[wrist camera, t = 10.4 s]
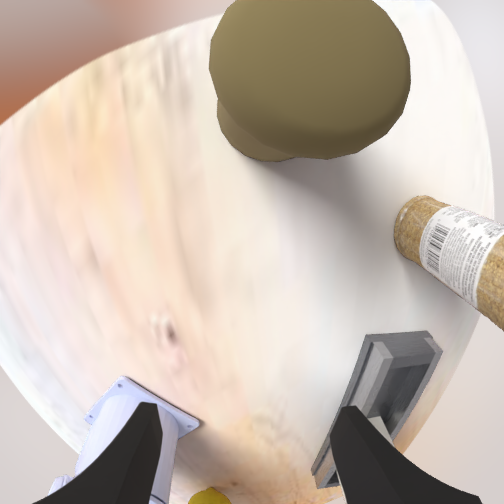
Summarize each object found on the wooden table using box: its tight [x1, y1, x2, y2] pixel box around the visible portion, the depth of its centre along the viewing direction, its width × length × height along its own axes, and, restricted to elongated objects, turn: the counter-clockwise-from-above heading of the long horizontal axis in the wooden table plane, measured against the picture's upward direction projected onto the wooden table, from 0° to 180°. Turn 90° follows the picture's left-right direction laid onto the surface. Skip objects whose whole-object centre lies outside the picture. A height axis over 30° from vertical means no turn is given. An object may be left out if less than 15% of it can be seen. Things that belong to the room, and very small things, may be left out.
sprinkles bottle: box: [394, 196, 504, 331], centre depth 11 cm, size 5×5×13 cm
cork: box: [209, 0, 411, 162], centre depth 10 cm, size 6×6×11 cm
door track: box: [311, 331, 443, 489], centre depth 22 cm, size 20×6×3 cm, turn 175°
